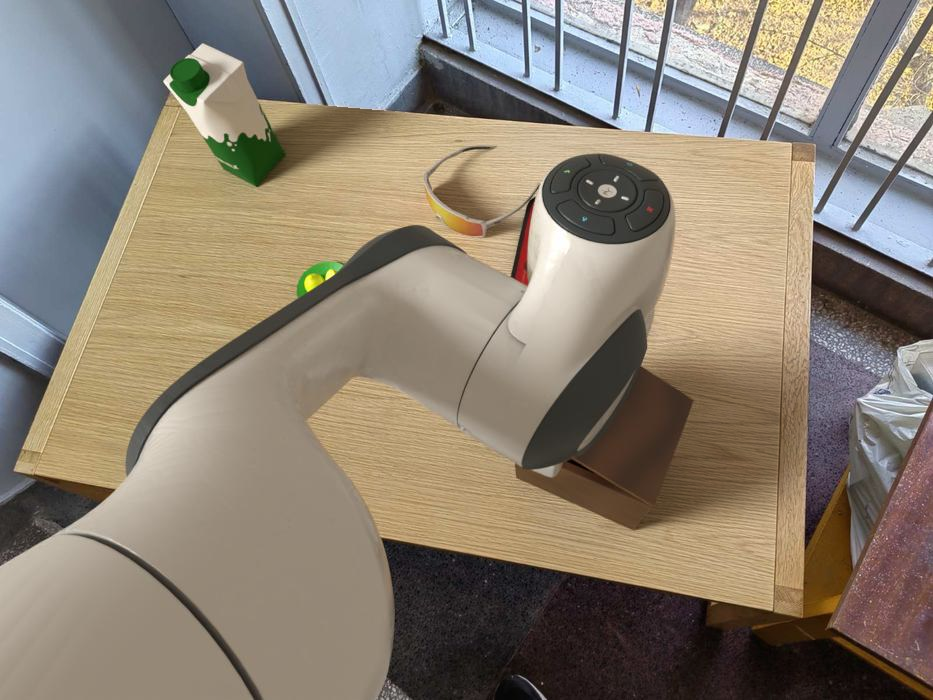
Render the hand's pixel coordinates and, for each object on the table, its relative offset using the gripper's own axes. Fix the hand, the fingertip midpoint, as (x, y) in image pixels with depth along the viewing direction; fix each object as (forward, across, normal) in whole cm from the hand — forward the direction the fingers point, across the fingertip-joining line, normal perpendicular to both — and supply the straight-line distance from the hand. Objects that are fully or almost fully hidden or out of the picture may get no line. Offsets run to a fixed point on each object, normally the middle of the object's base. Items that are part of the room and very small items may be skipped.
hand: (578, 389), depth 63 cm
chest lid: (+3, 0, -3) cm, 4 cm away
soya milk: (+20, +22, +61) cm, 68 cm away
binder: (+20, +24, +9) cm, 32 cm away
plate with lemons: (+20, +7, +39) cm, 45 cm away
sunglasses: (+20, +30, +26) cm, 44 cm away
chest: (+20, 0, -3) cm, 20 cm away
